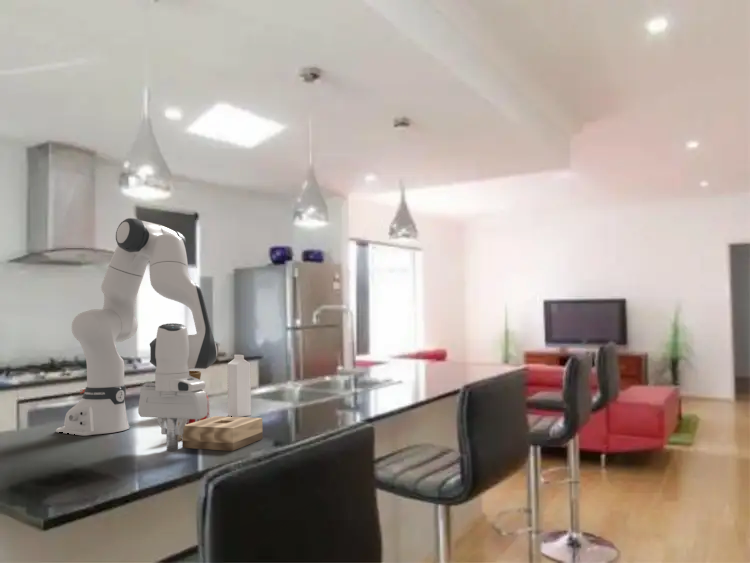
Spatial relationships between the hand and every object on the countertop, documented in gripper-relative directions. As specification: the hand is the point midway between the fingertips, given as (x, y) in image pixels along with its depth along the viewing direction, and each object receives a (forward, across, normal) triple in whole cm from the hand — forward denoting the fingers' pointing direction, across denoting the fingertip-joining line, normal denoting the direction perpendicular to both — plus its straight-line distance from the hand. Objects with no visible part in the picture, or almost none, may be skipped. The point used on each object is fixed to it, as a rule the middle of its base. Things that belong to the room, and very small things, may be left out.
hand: (172, 434), depth 164 cm
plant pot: (+4, -33, +48) cm, 58 cm away
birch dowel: (+4, -7, +11) cm, 14 cm away
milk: (+4, -12, +54) cm, 55 cm away
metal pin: (+4, 0, 0) cm, 4 cm away
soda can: (+4, -8, +23) cm, 25 cm away
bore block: (+4, +9, +11) cm, 15 cm away
